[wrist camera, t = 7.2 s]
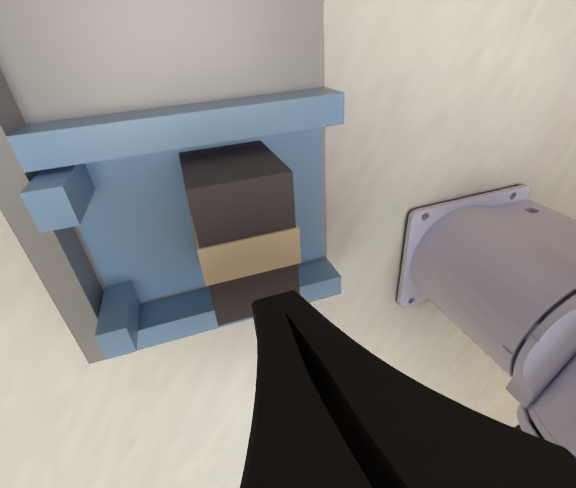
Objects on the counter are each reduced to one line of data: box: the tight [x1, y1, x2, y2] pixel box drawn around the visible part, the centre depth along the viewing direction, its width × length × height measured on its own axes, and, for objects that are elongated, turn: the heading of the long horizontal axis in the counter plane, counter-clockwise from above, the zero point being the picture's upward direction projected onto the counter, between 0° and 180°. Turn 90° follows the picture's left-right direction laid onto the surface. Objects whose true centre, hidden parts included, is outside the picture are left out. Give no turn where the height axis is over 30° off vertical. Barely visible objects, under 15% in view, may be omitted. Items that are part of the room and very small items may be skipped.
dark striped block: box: [179, 140, 301, 326], centre depth 15 cm, size 4×6×5 cm, turn 4°
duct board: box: [0, 0, 344, 364], centre depth 13 cm, size 13×20×4 cm, turn 4°
